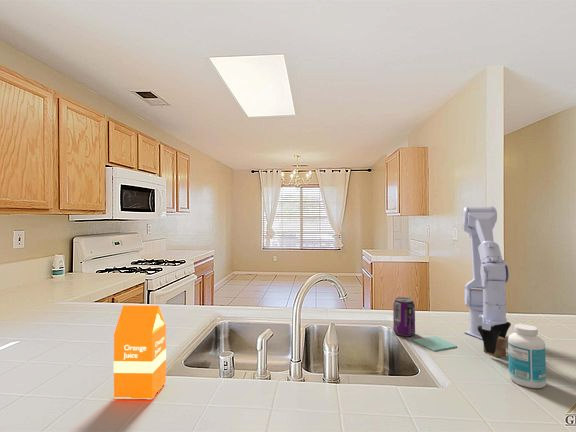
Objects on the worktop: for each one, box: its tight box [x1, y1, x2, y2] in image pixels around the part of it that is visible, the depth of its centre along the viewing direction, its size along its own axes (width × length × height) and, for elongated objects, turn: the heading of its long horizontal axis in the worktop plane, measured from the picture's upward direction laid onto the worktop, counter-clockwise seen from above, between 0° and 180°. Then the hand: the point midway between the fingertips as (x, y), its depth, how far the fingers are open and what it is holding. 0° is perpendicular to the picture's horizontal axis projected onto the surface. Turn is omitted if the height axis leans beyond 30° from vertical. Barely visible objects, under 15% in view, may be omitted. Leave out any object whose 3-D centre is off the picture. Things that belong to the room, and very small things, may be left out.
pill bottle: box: [507, 323, 547, 389], centre depth 81 cm, size 8×7×14 cm
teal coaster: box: [413, 336, 458, 352], centre depth 106 cm, size 9×9×1 cm
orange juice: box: [113, 304, 167, 398], centre depth 77 cm, size 8×9×20 cm
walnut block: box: [483, 336, 507, 358], centre depth 98 cm, size 4×4×5 cm
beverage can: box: [392, 296, 416, 337], centre depth 115 cm, size 7×7×12 cm
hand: (494, 349), depth 98 cm, fingers open, 7 cm apart
